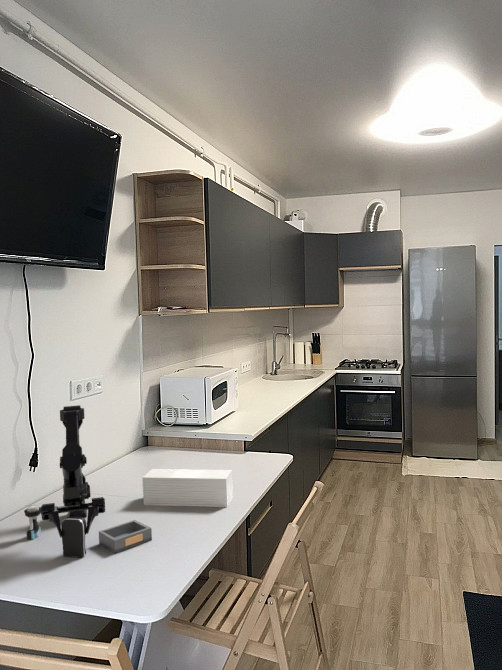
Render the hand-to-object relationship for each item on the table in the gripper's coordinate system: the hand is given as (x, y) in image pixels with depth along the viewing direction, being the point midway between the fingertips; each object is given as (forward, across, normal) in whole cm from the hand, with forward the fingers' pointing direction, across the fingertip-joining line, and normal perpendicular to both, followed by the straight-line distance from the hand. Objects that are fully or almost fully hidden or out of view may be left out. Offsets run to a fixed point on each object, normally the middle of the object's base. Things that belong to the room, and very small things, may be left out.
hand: (74, 535), depth 170 cm
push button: (-10, -13, +20) cm, 26 cm away
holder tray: (+1, +15, +8) cm, 17 cm away
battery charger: (+4, 0, +6) cm, 7 cm away
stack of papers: (-20, +40, +30) cm, 54 cm away
